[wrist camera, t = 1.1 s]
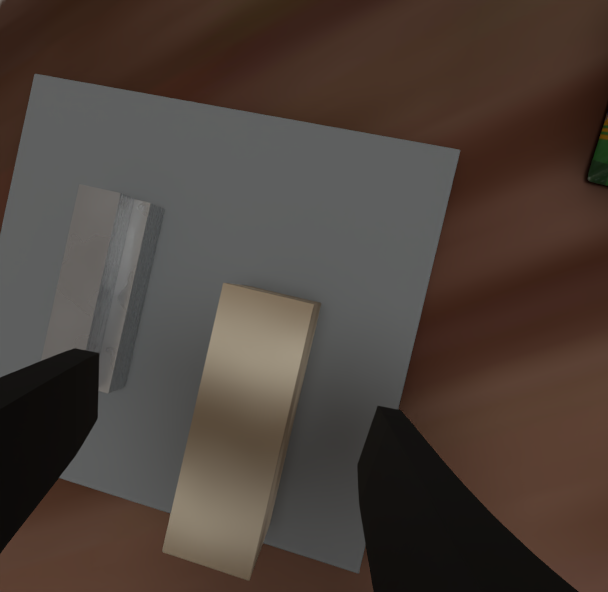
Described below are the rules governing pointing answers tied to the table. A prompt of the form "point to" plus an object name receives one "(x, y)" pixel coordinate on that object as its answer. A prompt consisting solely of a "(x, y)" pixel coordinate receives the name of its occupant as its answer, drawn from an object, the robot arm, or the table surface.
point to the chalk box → (600, 158)
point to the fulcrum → (104, 280)
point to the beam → (241, 428)
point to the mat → (232, 279)
